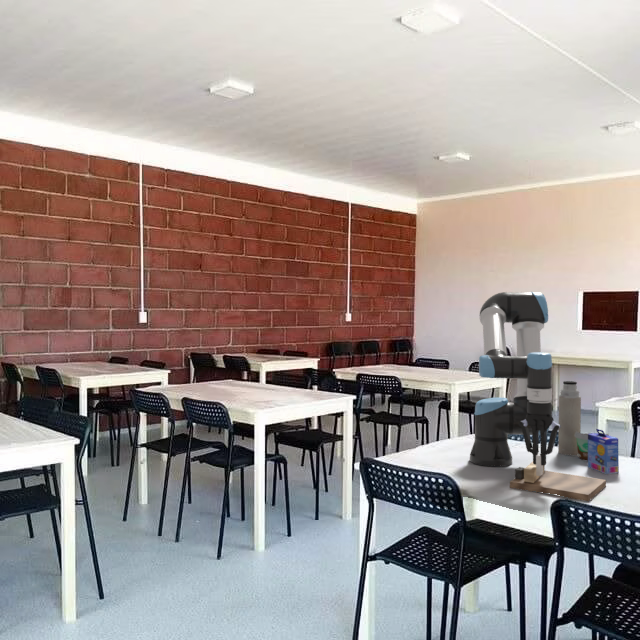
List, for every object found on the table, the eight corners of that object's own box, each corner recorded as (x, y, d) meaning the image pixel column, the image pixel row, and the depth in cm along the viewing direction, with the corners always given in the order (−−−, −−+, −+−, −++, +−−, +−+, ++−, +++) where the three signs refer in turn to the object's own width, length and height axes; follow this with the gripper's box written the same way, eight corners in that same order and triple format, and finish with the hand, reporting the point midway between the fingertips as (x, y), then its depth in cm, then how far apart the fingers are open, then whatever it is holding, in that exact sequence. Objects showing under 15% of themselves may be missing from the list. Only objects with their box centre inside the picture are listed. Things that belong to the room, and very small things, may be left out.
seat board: (509, 487, 210) (509, 472, 210) (531, 474, 226) (531, 459, 226) (588, 501, 196) (588, 484, 196) (605, 486, 212) (606, 470, 212)
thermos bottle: (566, 450, 262) (567, 379, 262) (584, 453, 256) (585, 381, 255) (554, 452, 258) (554, 381, 257) (571, 456, 251) (572, 383, 250)
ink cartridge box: (586, 467, 235) (586, 427, 235) (599, 466, 237) (600, 426, 237) (605, 474, 226) (606, 432, 226) (619, 473, 228) (619, 431, 227)
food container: (574, 460, 245) (574, 433, 245) (574, 456, 251) (574, 430, 251) (610, 463, 241) (610, 436, 241) (609, 459, 247) (609, 432, 246)
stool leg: (535, 470, 223) (535, 457, 223) (545, 472, 221) (545, 458, 221) (523, 482, 209) (523, 468, 209) (534, 483, 208) (534, 469, 207)
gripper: (515, 401, 211) (515, 474, 212) (557, 404, 204) (557, 480, 204) (522, 398, 217) (523, 469, 218) (563, 401, 210) (563, 475, 210)
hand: (539, 474), depth 211 cm, fingers closed
